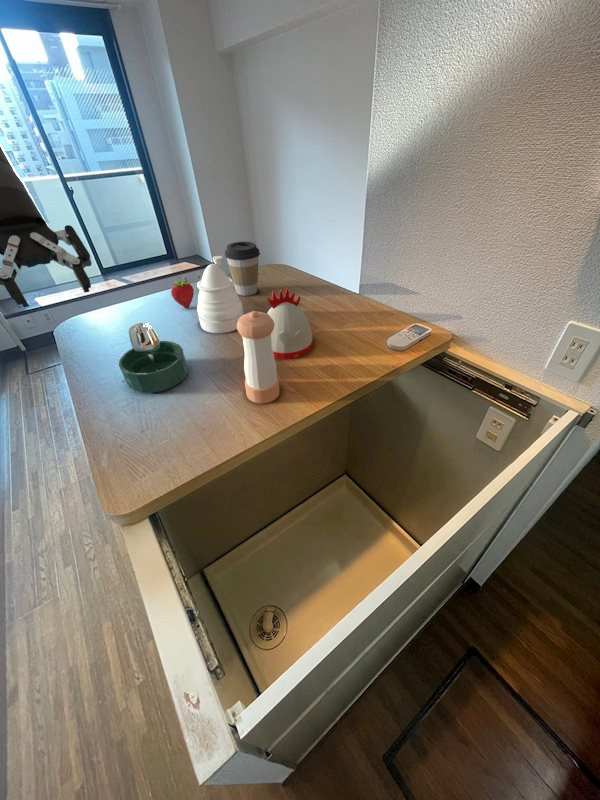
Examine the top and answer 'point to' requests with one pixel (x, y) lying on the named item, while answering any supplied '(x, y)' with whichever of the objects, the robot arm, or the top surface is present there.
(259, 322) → the salt shaker
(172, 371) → the green bowl
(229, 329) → the honey pot
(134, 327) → the wineglass
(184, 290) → the strawberry
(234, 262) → the coffee cup
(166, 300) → the top surface
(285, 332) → the kitchen timer
